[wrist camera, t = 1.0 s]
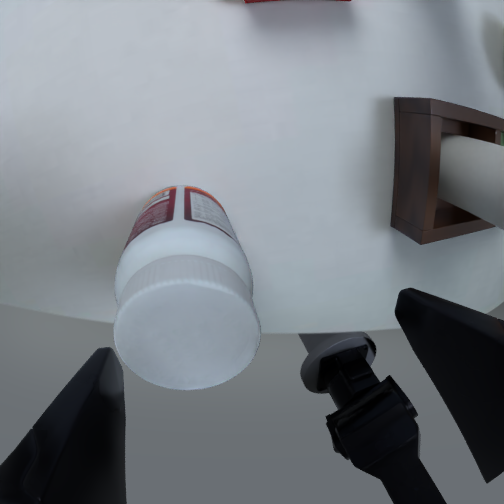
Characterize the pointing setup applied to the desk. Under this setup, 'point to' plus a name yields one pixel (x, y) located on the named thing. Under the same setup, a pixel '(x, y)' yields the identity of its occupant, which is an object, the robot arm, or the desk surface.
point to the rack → (433, 166)
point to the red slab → (252, 0)
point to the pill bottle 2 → (473, 176)
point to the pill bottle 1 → (185, 294)
